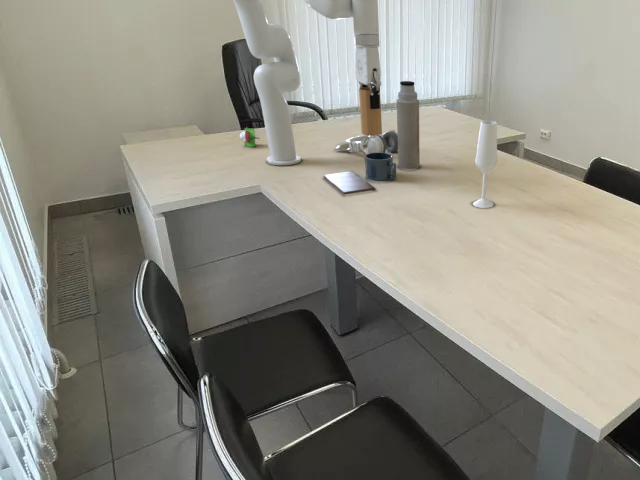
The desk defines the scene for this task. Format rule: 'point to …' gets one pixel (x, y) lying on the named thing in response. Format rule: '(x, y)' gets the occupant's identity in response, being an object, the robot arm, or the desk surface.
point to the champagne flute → (486, 156)
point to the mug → (380, 166)
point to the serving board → (348, 182)
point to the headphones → (371, 143)
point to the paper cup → (369, 114)
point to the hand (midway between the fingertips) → (370, 106)
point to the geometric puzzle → (248, 137)
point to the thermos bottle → (408, 126)
